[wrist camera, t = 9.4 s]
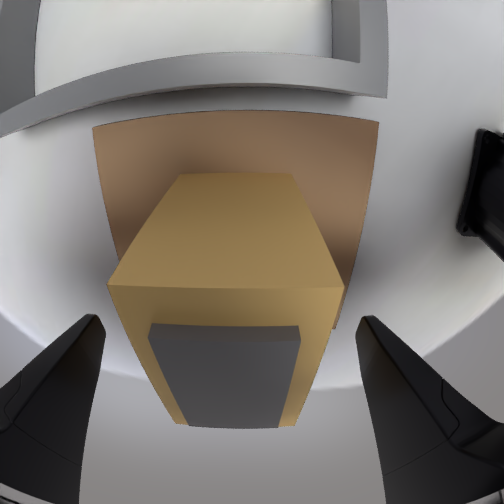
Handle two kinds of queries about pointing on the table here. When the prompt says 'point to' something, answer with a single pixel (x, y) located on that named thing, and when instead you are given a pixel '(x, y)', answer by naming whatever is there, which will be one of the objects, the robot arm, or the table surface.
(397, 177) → the table surface
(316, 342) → the ochre module
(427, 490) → the robot arm
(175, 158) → the walnut board
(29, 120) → the equipment case
